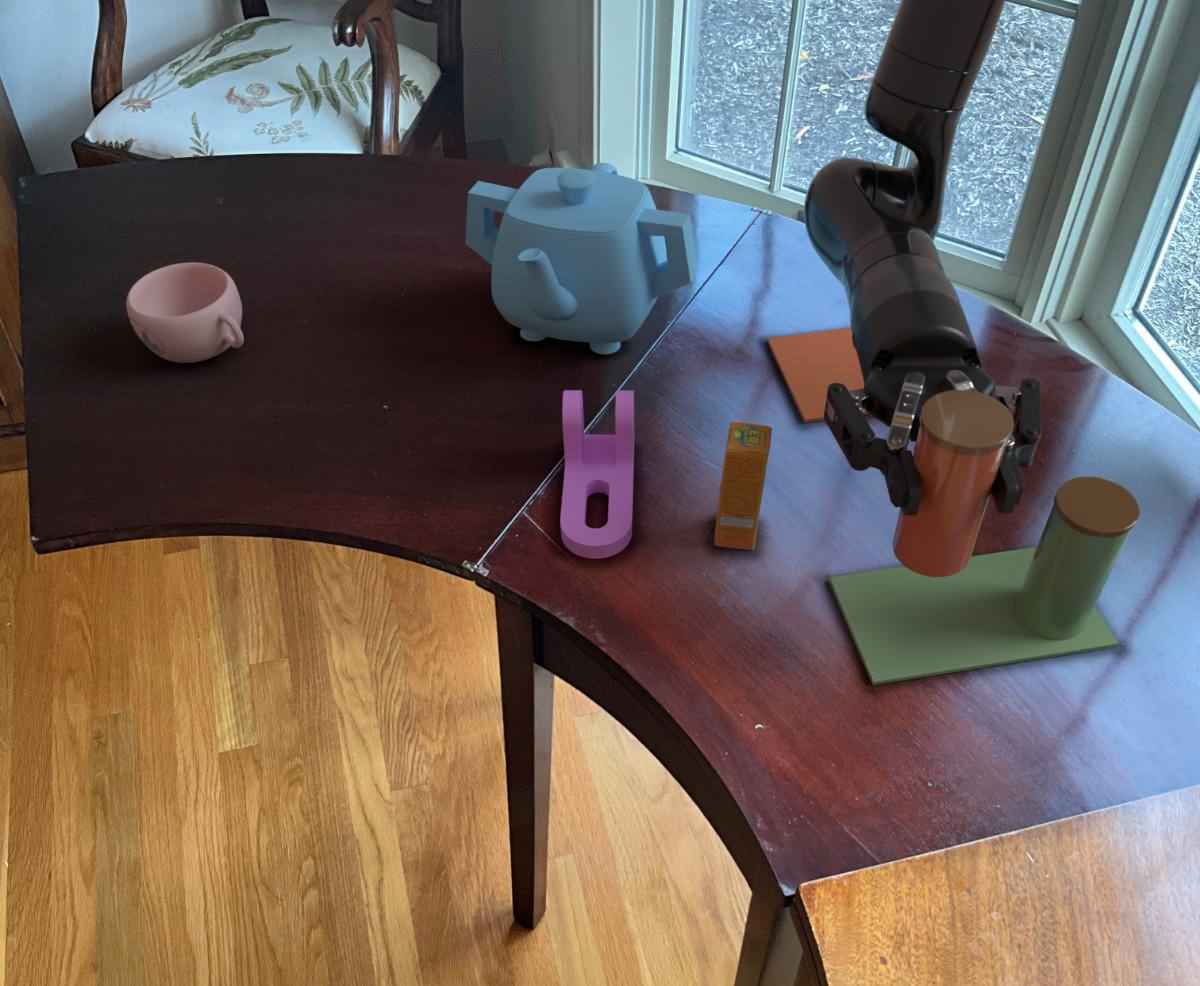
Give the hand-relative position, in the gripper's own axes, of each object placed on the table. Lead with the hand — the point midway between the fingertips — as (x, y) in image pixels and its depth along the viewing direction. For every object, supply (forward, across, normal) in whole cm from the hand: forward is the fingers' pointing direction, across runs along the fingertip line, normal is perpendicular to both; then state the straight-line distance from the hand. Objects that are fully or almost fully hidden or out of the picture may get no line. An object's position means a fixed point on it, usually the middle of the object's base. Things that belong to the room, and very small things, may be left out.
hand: (961, 503), depth 66 cm
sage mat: (-5, +5, +16) cm, 17 cm away
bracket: (-18, -22, +16) cm, 33 cm away
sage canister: (-5, +11, +16) cm, 19 cm away
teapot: (-42, -24, +16) cm, 51 cm away
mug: (-39, -60, +16) cm, 73 cm away
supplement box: (-13, -11, +16) cm, 24 cm away
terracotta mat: (-34, 0, +16) cm, 37 cm away
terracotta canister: (-3, 0, +7) cm, 7 cm away
